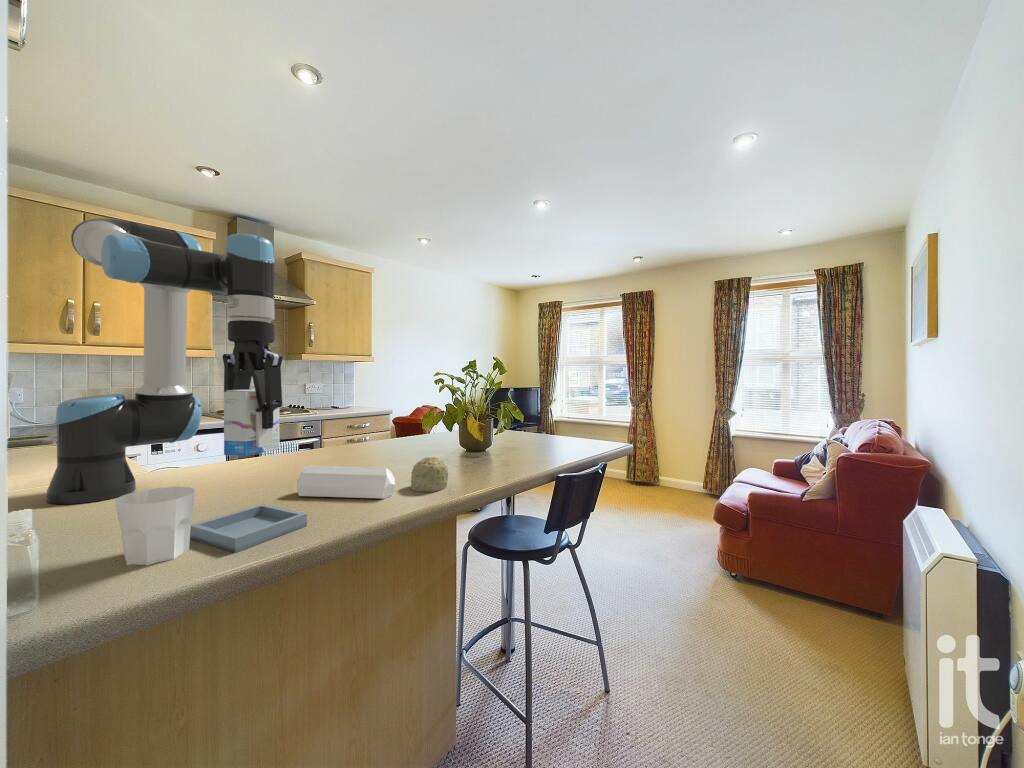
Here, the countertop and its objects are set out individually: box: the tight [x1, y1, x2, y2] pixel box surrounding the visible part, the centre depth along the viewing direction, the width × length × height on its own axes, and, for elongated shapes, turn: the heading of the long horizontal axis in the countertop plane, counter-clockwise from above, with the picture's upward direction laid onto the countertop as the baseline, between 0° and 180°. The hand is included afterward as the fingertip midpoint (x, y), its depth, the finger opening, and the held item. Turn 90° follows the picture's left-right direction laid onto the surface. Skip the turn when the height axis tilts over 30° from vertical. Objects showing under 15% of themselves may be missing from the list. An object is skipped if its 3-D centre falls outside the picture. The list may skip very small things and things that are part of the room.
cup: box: [114, 486, 195, 566], centre depth 72 cm, size 10×10×10 cm
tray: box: [190, 503, 308, 554], centre depth 82 cm, size 13×14×2 cm
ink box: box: [223, 388, 281, 457], centre depth 83 cm, size 9×5×12 cm, turn 168°
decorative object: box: [410, 456, 449, 493], centre depth 114 cm, size 9×10×10 cm
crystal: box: [296, 464, 396, 500], centre depth 106 cm, size 7×7×24 cm
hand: (252, 444), depth 83 cm, fingers closed on ink box, 6 cm apart
